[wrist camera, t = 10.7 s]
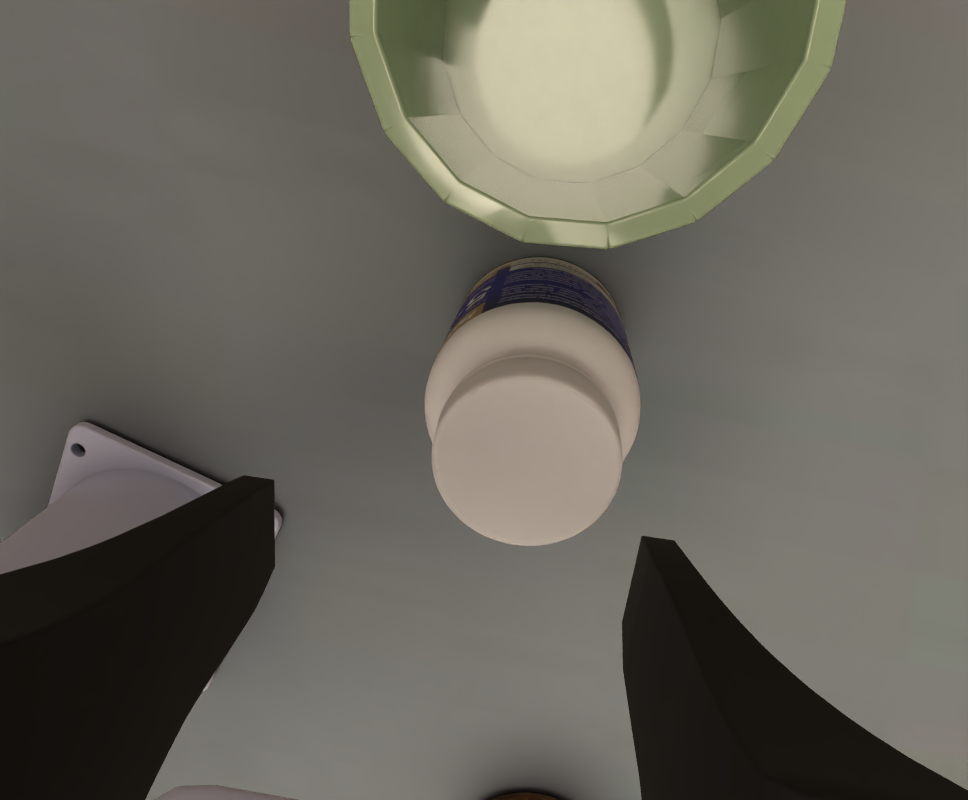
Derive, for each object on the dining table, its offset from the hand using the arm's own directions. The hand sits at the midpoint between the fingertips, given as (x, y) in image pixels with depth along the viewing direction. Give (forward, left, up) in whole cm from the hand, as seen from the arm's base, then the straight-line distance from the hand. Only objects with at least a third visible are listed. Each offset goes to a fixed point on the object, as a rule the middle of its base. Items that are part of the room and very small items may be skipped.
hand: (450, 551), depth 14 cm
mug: (+11, +2, -10) cm, 15 cm away
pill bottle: (+2, -1, -11) cm, 11 cm away
